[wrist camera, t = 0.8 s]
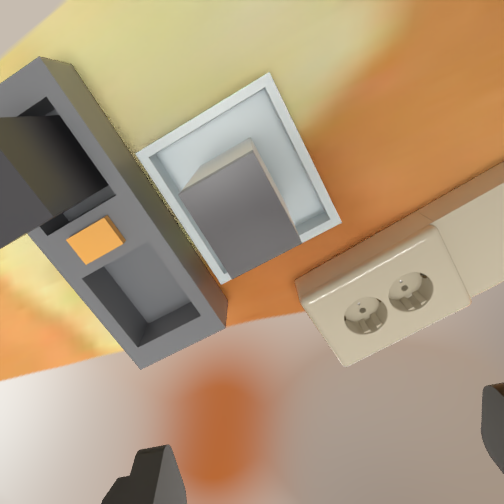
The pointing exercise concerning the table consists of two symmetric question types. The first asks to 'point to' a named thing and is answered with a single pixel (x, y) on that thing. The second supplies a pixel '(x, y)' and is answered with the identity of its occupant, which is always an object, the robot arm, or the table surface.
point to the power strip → (99, 216)
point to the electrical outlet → (410, 271)
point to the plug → (240, 209)
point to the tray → (229, 135)
